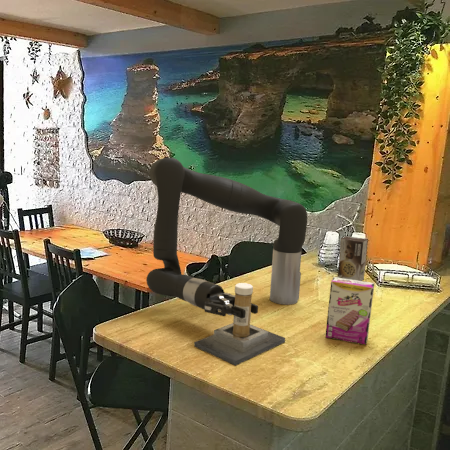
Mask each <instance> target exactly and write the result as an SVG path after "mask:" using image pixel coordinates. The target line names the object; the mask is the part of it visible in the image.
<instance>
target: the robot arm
mask: <svg viewBox="0 0 450 450" xmlns="http://www.w3.org/2000/svg"><path fill="white" fill-rule="evenodd" d="M148 174H149V178H150V181H151V182H152V184H153V185H154V186H156V189H157V210H156V217H155V218H156V219H155V221H154V229H153V244H152V247H153V251H152V254H153V255H152V256H153V257H154V259H156V260H157V261H162V263H163V266H164V267H161V268H160V267H159V268H154V269H152V270H150V271H149V272H148V274H147V275H146V281H145V282H146V285H147V287H148V289H149V290H151V292H153V293H154V294H157V295H162V296H166V297H174V298H177V299H180V300H182V301H185V302H187V303H188V304H190V305H192V306H194V307H197V308H199V309H202V310H204V313H208V314H213V315H217V316H221V317H226V316H227V315H228V316H233V317H234V316H237V317H239V318H242V319H243V318H245V313H246V311H245V310H244V309H242V308H239V307H236V306H234V303H235V294H232V293H228V292H225V290H224V289H223V287H222V286H221V285H220V284H217V283H214V282H210V281H207V280H205V279H202V278H196V277H193V276H191V275H188V274H183V273H182V269H181V266H180V261H179V257H178V233H179V232H178V230H179V229H178V227H179V208H180V201H181V194H186V195H189V196H192V197H194V198H197V199H199V200H201V201H203V202H206V203H208V204H211V205H212V206H215V207H218V208H220V209H223V210H226V211H227V210H228V211H230V212H234V213H238V214H241V215H242V214H244V215H252V216H257V217H259V218H262V219H265V220H267V221H269V222H271V223H273V224H275V225H277V226H278V227H279V228H278V229H279V230H278V236H277V238H276V239H274V241H273V246H272V247H273V249H272V262H271V275H270V276H271V277H270V290H269V291H270V292H269V300H270V301H271V302H273V303H274V304H279V305H294V304H297V303H298V300H300V291H301V290H300V289H301V280H302V279H301V276H302V272H301V264H302V260H301V259H302V250H303V245H304V244H305V240H306V234H307V227H308V226H307V225H308V212H307V209H306V208H305V206H304V205H303V204H301V203H299V202H296V201H293V200H289V199H285V198H279V197H277V196H276V197H275V196H271V195H267V194H264V193H262V192H260V191H259V190H257V189H254V188H253V187H250V186H248V185H247V184H244V183H242V182H239V181H236V180H233V179H231V178H227V177H223V176H219V175H213V174H207V173H202V172H198V171H195V170H192V169H189V168H187V167H185V166H184V165H183V164H182V162H181V161H179V160H178V159H177V158H175V157H163V158H159V159H157V160H156V161H154V162H153V163H152V164H151V166H150V168H149V172H148ZM258 310H259V305H257V304H254V303H252V302H251V314H254V315H255V314H258Z"/></svg>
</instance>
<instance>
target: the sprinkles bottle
mask: <svg viewBox="0 0 450 450" xmlns="http://www.w3.org/2000/svg"><path fill="white" fill-rule="evenodd" d="M253 291H254V286H253V285H252V284H250V283H246V282H238V283H236V284H235V285H234V295H235V303H234V306H236V307H239V308H242V309H244V310H245V311H246V313H245V318H243V319H242V318H239V317H237V316H234V315H233V319H232V321H233V322H232V323H234V324H233V332H232V333H233V335H235V336H237V337H240V338H244V337H248V336H249V335H250V332H249V330H250V325H251V317H252V313H251V303H252V295H253Z"/></svg>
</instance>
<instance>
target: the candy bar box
mask: <svg viewBox="0 0 450 450" xmlns="http://www.w3.org/2000/svg"><path fill="white" fill-rule="evenodd" d="M374 290H375V283H374V282H370V281H364V280H362V281H358V280H351V279H345V278H338V276H333V278H332V279H331V282H330V290H329V298H328V299H329V300H328V309H327V316H326V325H325V326H326V328H325V334H324V335H325V338H327V339H332V340H336V341H337V340H338V341H344V342H349V343H354V344H358V343H359V344H358V345H363V344H365V346H366V345H367V342H368V338H369V330H370V322H371V314H372V307H373V299H374V292H375V291H374Z"/></svg>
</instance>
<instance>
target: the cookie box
mask: <svg viewBox="0 0 450 450" xmlns="http://www.w3.org/2000/svg"><path fill="white" fill-rule="evenodd" d="M368 241H369V239H367V238H361V237H354V236H348V235H345V236H343V237H341V238H340V242H339V243H340V247H339V256H338V258H339V259H338V269H337V277H338V278H345V279H351V280H358V281H364V280H365V274H366V273H365V272H366V271H365V270H366V261H367V252H368V243H369V242H368Z"/></svg>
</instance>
